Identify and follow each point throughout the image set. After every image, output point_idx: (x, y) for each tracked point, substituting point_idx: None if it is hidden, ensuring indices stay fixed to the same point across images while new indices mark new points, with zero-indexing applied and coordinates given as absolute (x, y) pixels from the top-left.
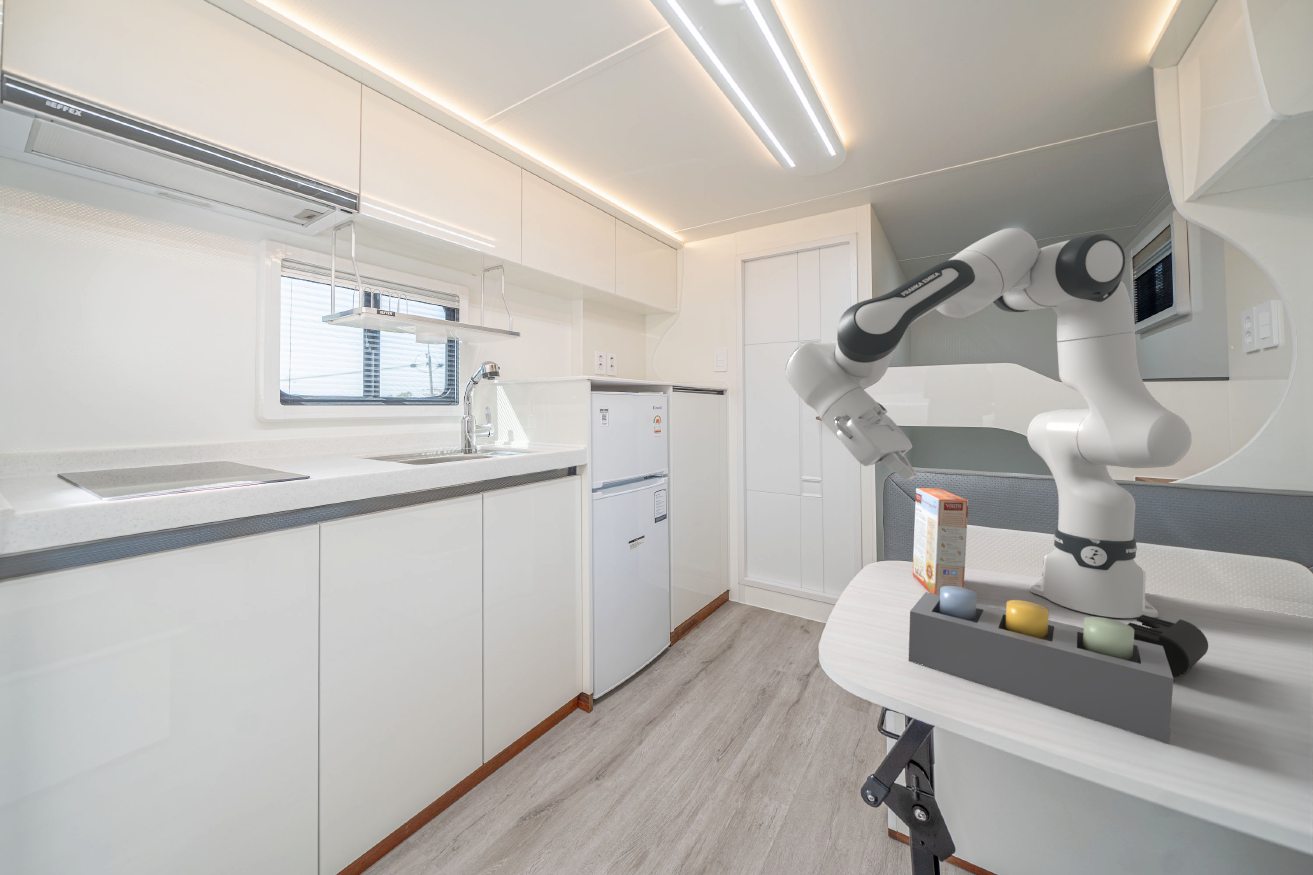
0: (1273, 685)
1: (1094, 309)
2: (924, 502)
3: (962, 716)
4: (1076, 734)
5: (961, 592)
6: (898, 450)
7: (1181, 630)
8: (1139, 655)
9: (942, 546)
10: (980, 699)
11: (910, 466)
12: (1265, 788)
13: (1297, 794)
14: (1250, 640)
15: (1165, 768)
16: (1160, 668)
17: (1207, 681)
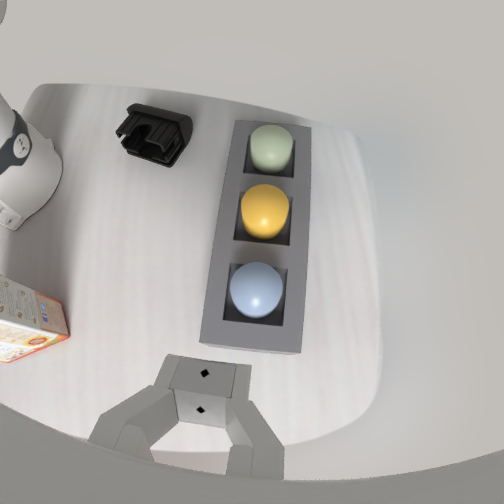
0: (157, 98)
1: None
2: None
3: (370, 292)
4: (335, 212)
5: (256, 282)
6: (157, 463)
7: (154, 110)
8: None
9: (21, 316)
10: (329, 280)
11: (172, 383)
12: (321, 132)
13: (315, 121)
14: (80, 100)
15: (339, 170)
16: (295, 130)
17: None
